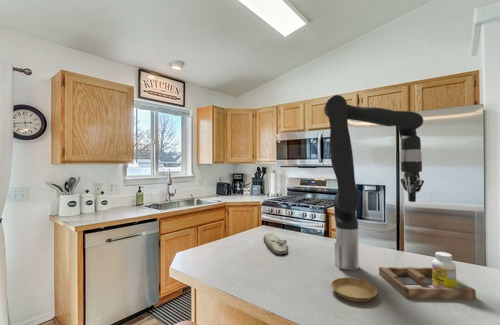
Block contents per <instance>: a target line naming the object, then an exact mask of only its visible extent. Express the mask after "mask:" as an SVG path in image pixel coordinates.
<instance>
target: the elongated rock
mask: <svg viewBox="0 0 500 325" xmlns="http://www.w3.org/2000/svg"><path fill="white" fill-rule="evenodd" d="M263 241H264V242H265V244H266V246H267V247H268V248H269V249H270V250H271V252H272V251H273V252H272V253H274V254H277V255H278V254H279V255H280V256H282V255H287V253H288V252H289V246H288V244H287V242H288V241H287V240H285V239H280V238H279V237H278V236H277V235H275V233H269V232H268V233H265V234H264V235H263Z"/></svg>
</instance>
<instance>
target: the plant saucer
mask: <svg viewBox="0 0 500 325" xmlns="http://www.w3.org/2000/svg"><path fill="white" fill-rule="evenodd" d="M330 286H331V288H332V289H333V290H334V291H335V293H336V294H338V296H339V297H341V298H342V299H345V300H346V301H349V302H355V303H365V302H369V301H370V300H371V301H372V299H374V298H375V297H376V295H378V289H377V287H376V286H375V285H374V284H372V283H371V282H368V281H366V280H363V279H359V278H354V277H339V278H336V279H334V280H332V281H331V285H330Z"/></svg>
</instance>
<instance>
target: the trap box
mask: <svg viewBox="0 0 500 325" xmlns="http://www.w3.org/2000/svg"><path fill="white" fill-rule="evenodd" d="M378 275H379V276H380V277H381V278H383V279H384V280H385V281H386V282H387V283H388V284H389V285H390V286H391V287H392V288H394V289H395V290H396V291H397V292H398V293H399V294H400V295H401V296H403V297H404V298H405V299H431V300H432V299H433V300H434V299H435V300H436V299H437V300H438V299H440V300H442V299H444V300H450V299H451V300H455V299H456V300H477V297H476V295H477V292H476V289H475V288H473V287H471V286H469V285H468V284H466V283H464V282H462V281H460V280H459V279H457V278H456V288H433V287H410V286H412V285H416V286H426V285H429V286H433V276H432V267H422V266H421V267H419V266H417V267H412V266H411V267H410V266H409V267H408V266H407V267H405V266H402V267H401V266H400V267H398V266H379V267H378ZM406 285H410V286H409V287H407V286H406Z"/></svg>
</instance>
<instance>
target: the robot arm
mask: <svg viewBox="0 0 500 325" xmlns="http://www.w3.org/2000/svg"><path fill="white" fill-rule="evenodd" d="M323 112H324V114H325V116H326V117H327V118H328V121H329V128H330V129H329V131H330V133H329V156H330V161H331V166H332V169H333V171H334V172H333V173H334V174H335V179H336V182H337V193H336V194H335V196H334V199H333V210H334V221H335V242H334V264H335V266H336V268H338V269H340V270H346V271H357V270H359V268H360V261H359V260H360V259H359V257H360V256H359V253H360V252H359V247H360V246H359V221H358V219H357V215H356V214H357V213H356V211H358V210H359V207H360V197H359V192H358V189H357V185H356V177H355V164H354V157H353V156H354V155H353V147H352V141H351V136H350V131H349V122H348V120H349V121H350V120H351V121H357V122H364V123H369V124H373V125H378V126H379V125H380V126H383V127H397V129H398V133H399V138H400V149H401V150H400V171H401V172H402V173H404V174H403V178H400V182H401V184H402V186H403V189H404V191H405V192H407V194H408V195H407V196H408V198H407V200H408V202H410V203H415V202H416V200H417V199H416V198H417V196H416V195H417V193H420V191H421V189H422V187H423V185H424V183H425V182H424V181H425V180H424V179H421V176H420V173H421V172H423V156H422V148H421V147H422V142H421V141H422V140H421V137H419V135H417V134H418V133H417V130H418V129H419V128H420V127H421V126H422V125H423V124H424V118H423V116H422V115H421V114H419V113H417V112H414V111H407V110H392V109H389V108H382V107H374V106H371V107H370V106H356V105H351V104H348V102H347V99H346V98H345V97H344V96H342V95H340V94H335V95H332V96H330V97H329V98H328V99H327V100H326V101H325V104H324V107H323Z"/></svg>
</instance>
